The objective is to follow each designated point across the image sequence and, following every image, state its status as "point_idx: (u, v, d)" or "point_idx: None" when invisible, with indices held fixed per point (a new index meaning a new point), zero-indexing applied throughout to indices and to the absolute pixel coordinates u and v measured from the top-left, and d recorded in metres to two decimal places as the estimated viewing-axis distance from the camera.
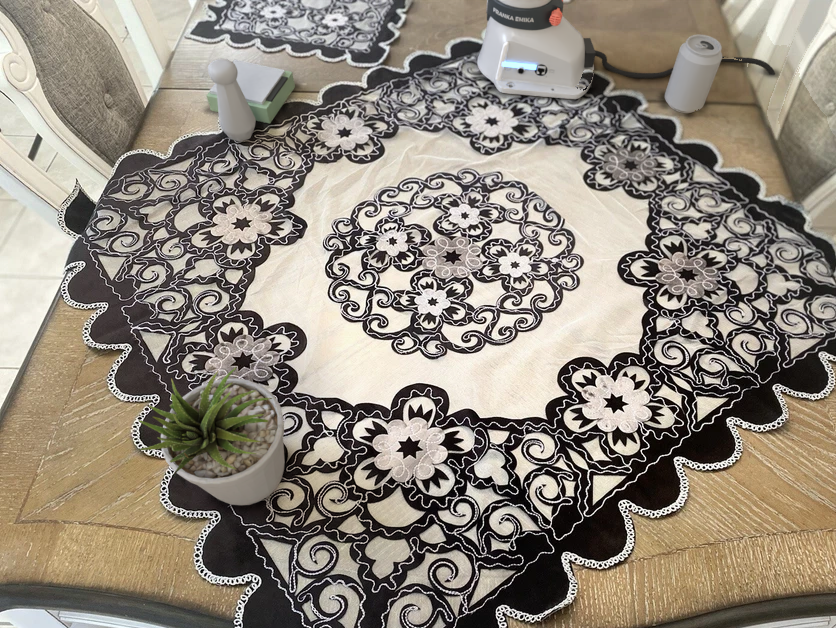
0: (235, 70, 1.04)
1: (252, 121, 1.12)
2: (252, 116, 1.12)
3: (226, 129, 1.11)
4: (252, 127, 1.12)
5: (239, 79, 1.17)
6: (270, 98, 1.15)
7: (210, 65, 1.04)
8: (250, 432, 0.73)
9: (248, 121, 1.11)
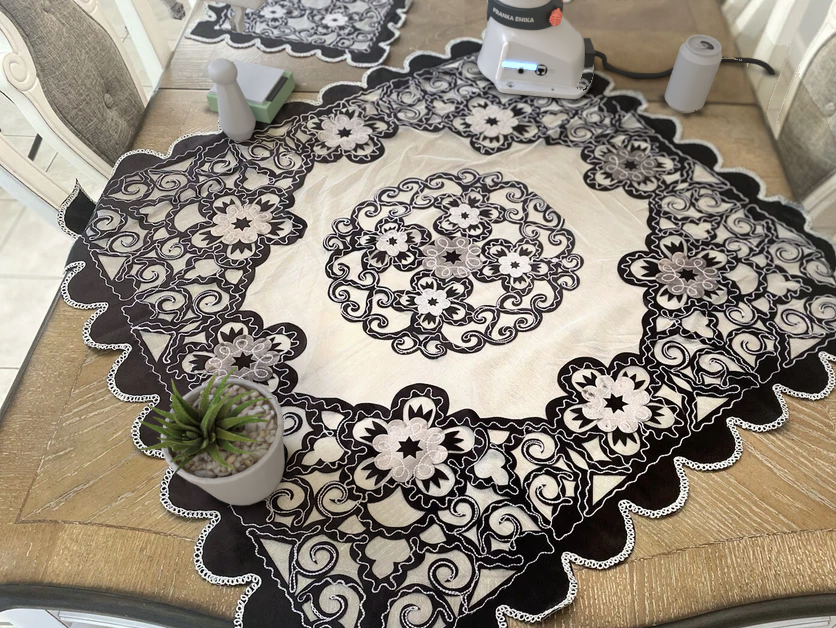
0: (235, 70, 1.04)
1: (252, 121, 1.12)
2: (252, 116, 1.12)
3: (226, 129, 1.11)
4: (252, 127, 1.12)
5: (239, 79, 1.17)
6: (270, 98, 1.15)
7: (210, 65, 1.04)
8: (250, 432, 0.73)
9: (248, 121, 1.11)
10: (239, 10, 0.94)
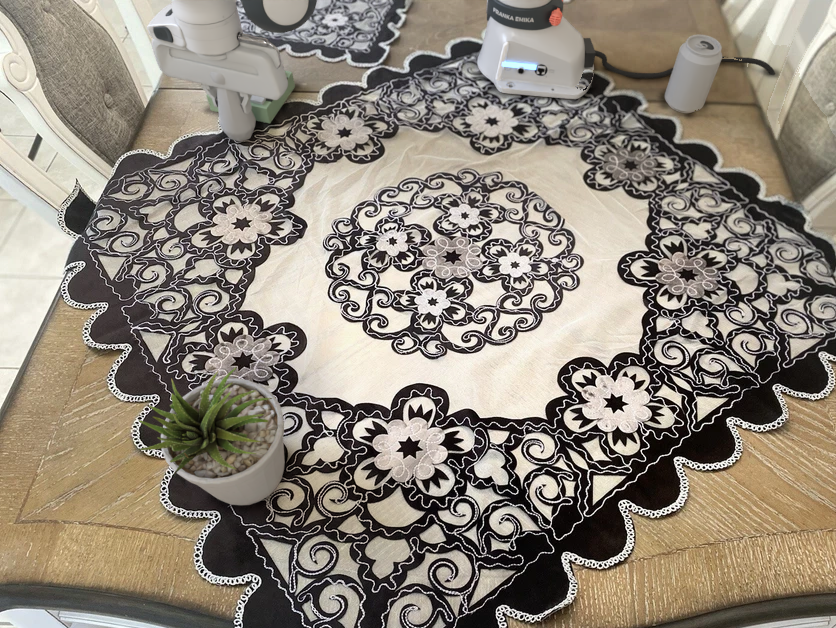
0: None
1: (252, 121, 1.12)
2: (252, 116, 1.12)
3: (227, 129, 1.11)
4: (252, 127, 1.12)
5: None
6: None
7: None
8: (250, 432, 0.73)
9: (248, 121, 1.11)
10: (246, 96, 1.06)
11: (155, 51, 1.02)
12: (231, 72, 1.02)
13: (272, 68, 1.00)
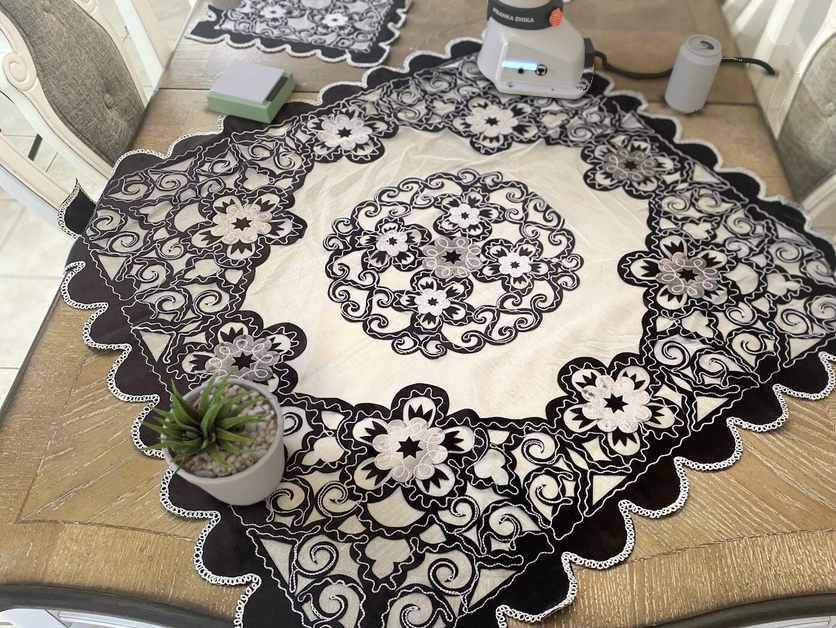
0: None
1: None
2: None
3: None
4: None
5: (239, 79, 1.17)
6: (270, 98, 1.15)
7: None
8: (250, 432, 0.73)
9: None
10: None
11: None
12: None
13: None
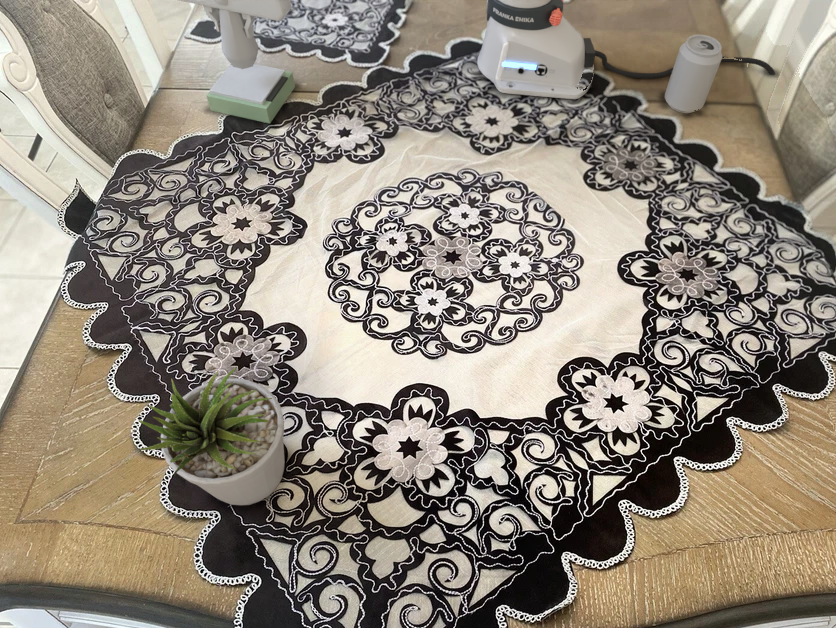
0: None
1: (255, 48, 1.11)
2: (255, 42, 1.11)
3: (229, 54, 1.10)
4: (255, 54, 1.12)
5: (239, 79, 1.17)
6: (270, 98, 1.15)
7: None
8: (250, 432, 0.73)
9: (250, 47, 1.10)
10: (249, 18, 1.06)
11: None
12: None
13: None
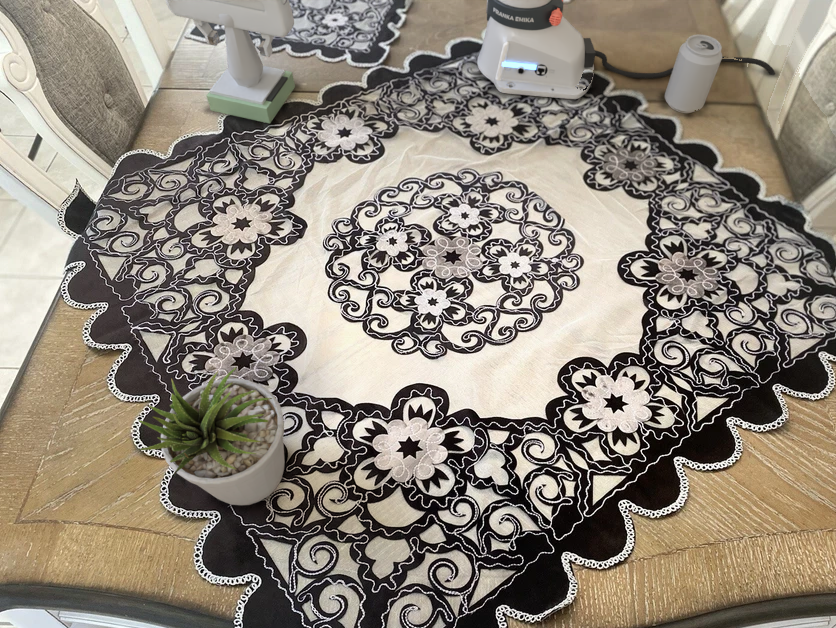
0: None
1: (260, 67, 1.14)
2: (260, 62, 1.14)
3: (235, 74, 1.13)
4: (260, 73, 1.15)
5: None
6: (270, 98, 1.15)
7: None
8: (250, 432, 0.73)
9: (255, 66, 1.13)
10: (268, 37, 1.08)
11: None
12: (238, 8, 1.04)
13: (279, 3, 1.02)
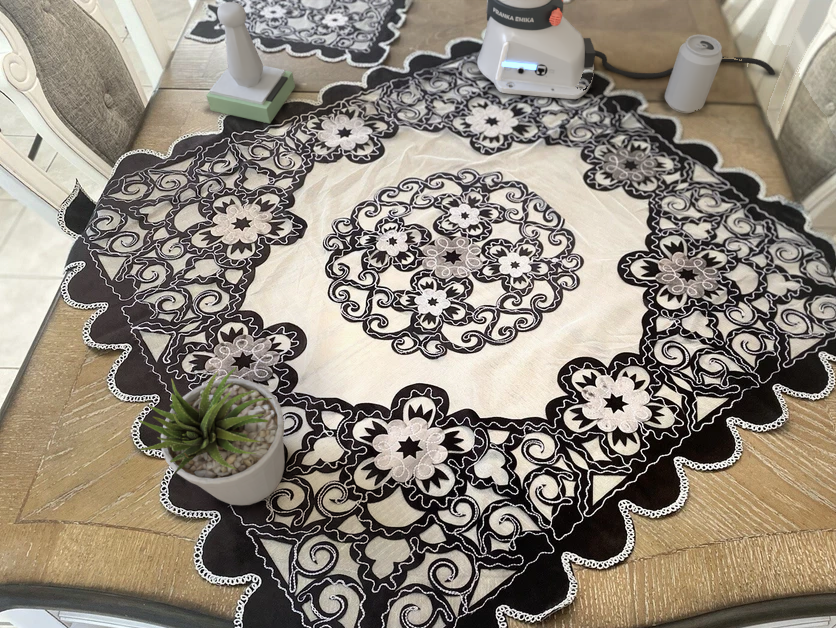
0: (244, 13, 1.07)
1: (260, 67, 1.14)
2: (260, 62, 1.14)
3: (235, 74, 1.13)
4: (260, 73, 1.15)
5: None
6: (270, 98, 1.15)
7: (219, 7, 1.06)
8: (250, 432, 0.73)
9: (255, 66, 1.13)
10: None
11: None
12: None
13: None
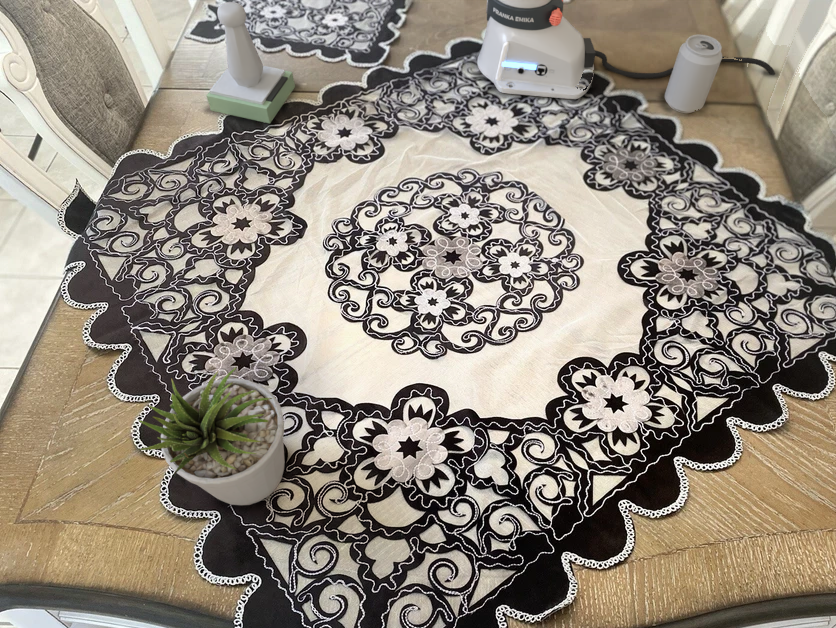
0: (244, 13, 1.07)
1: (260, 67, 1.14)
2: (260, 62, 1.14)
3: (235, 74, 1.13)
4: (260, 73, 1.15)
5: None
6: (270, 98, 1.15)
7: (219, 7, 1.06)
8: (250, 432, 0.73)
9: (255, 66, 1.13)
10: None
11: None
12: None
13: None
